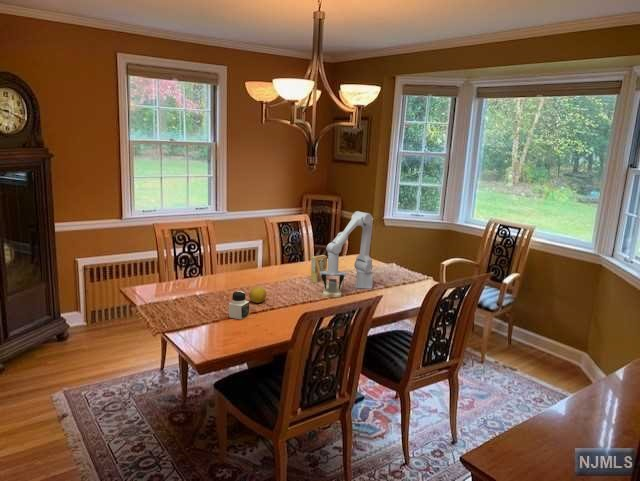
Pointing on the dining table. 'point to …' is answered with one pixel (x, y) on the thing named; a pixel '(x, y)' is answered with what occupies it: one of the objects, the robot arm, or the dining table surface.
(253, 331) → the dining table surface
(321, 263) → the candy box
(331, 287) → the sanding block
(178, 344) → the dining table surface
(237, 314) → the medicine bottle
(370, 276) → the robot arm
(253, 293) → the fruit
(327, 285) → the board
